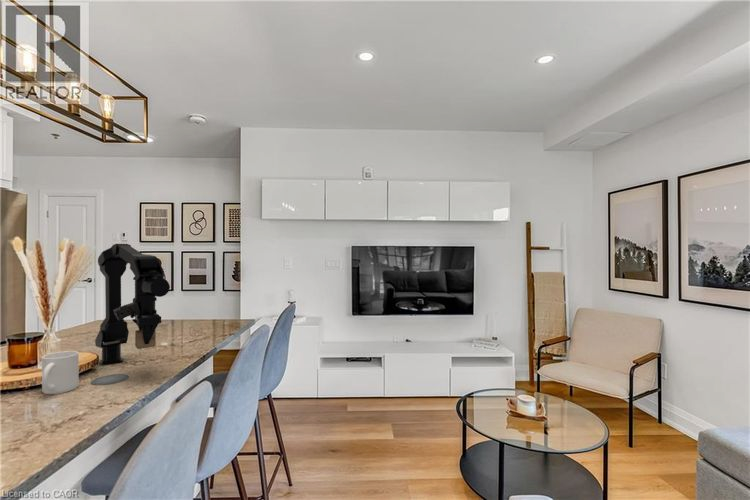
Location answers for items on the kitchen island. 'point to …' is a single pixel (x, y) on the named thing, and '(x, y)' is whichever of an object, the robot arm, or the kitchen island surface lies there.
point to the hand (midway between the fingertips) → (145, 342)
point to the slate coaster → (109, 379)
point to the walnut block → (140, 341)
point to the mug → (60, 372)
